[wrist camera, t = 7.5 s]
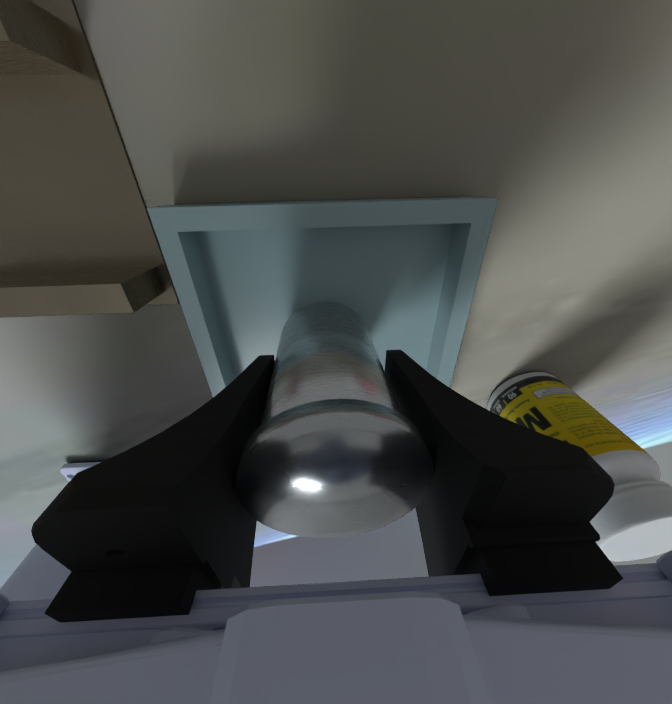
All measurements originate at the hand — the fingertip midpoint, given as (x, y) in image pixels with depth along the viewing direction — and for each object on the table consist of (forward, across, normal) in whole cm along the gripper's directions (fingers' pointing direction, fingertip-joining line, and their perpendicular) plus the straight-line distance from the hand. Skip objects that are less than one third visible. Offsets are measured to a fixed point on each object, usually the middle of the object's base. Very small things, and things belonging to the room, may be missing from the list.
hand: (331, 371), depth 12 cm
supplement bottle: (+4, -12, +6) cm, 14 cm away
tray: (+4, 0, 0) cm, 4 cm away
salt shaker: (+2, 0, 0) cm, 2 cm away
